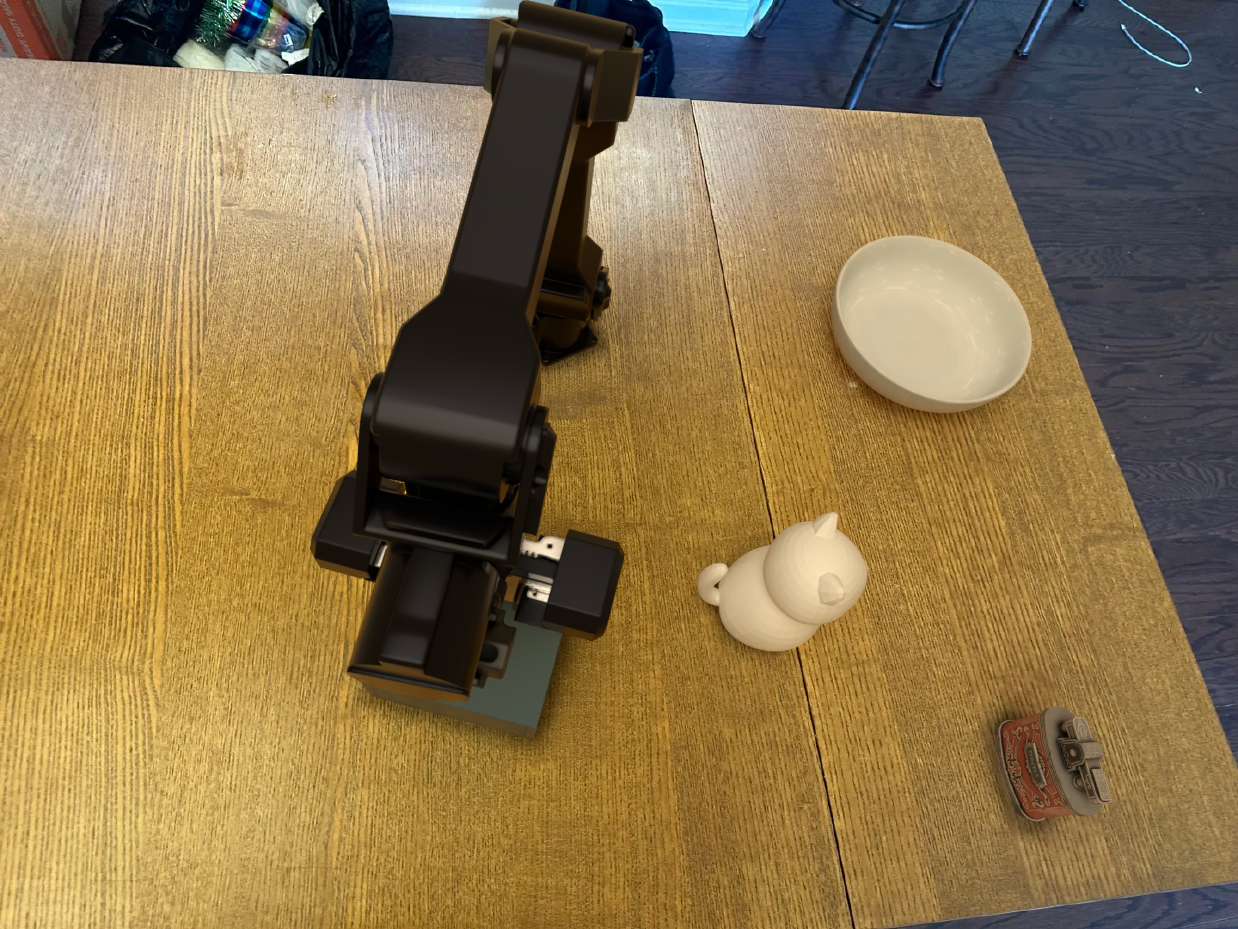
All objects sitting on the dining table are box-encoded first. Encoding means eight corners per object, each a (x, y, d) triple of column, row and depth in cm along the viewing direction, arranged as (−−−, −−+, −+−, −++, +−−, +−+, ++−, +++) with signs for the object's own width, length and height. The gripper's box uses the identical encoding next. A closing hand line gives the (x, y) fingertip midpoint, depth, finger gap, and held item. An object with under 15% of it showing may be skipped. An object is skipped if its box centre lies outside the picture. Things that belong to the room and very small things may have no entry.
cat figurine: (824, 662, 71) (899, 614, 58) (685, 654, 70) (728, 603, 57) (816, 566, 75) (883, 500, 62) (684, 556, 74) (724, 487, 61)
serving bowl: (878, 461, 81) (908, 428, 75) (778, 302, 89) (799, 260, 83) (1034, 402, 87) (1074, 366, 81) (929, 257, 95) (958, 215, 89)
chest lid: (401, 519, 59) (382, 527, 55) (580, 568, 59) (577, 579, 55) (359, 678, 60) (337, 699, 55) (537, 726, 60) (530, 751, 55)
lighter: (986, 722, 71) (1056, 701, 62) (1021, 720, 71) (1095, 698, 62) (1014, 823, 67) (1092, 815, 58) (1050, 820, 68) (1133, 811, 59)
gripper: (236, 604, 41) (305, 667, 55) (594, 701, 41) (571, 739, 55) (324, 418, 46) (366, 520, 60) (642, 505, 46) (610, 586, 60)
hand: (475, 592), depth 58 cm, fingers closed on chest lid, 6 cm apart
